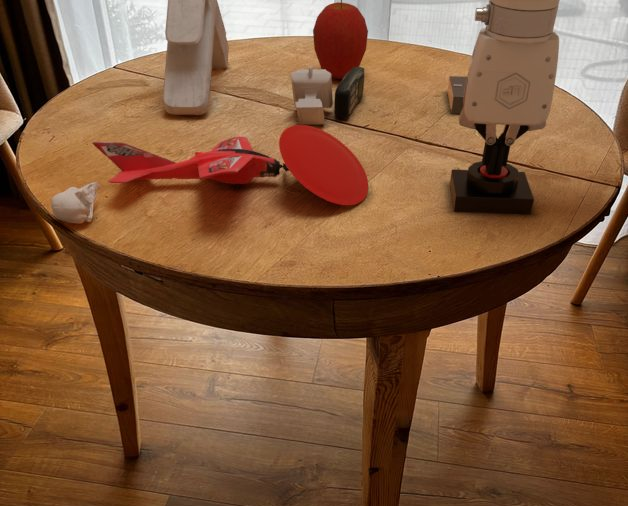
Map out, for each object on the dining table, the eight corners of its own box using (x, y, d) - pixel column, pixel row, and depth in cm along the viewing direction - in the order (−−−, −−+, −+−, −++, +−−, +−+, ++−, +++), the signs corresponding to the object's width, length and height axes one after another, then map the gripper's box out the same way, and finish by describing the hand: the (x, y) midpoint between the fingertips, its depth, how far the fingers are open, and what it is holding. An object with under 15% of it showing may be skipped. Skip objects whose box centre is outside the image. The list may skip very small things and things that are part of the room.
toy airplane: (302, 210, 83) (304, 169, 81) (74, 205, 79) (70, 162, 77) (283, 168, 107) (284, 135, 105) (107, 162, 103) (104, 128, 101)
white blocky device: (290, 56, 108) (285, 96, 105) (331, 56, 108) (328, 96, 104) (296, 97, 117) (291, 136, 113) (334, 98, 116) (331, 136, 112)
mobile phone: (350, 92, 108) (368, 60, 119) (332, 90, 109) (352, 59, 120) (349, 121, 112) (367, 88, 122) (332, 120, 112) (351, 87, 123)
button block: (521, 186, 94) (527, 159, 91) (530, 214, 88) (537, 186, 85) (449, 183, 95) (453, 156, 92) (453, 211, 89) (457, 183, 86)
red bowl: (381, 172, 96) (358, 199, 100) (304, 108, 94) (284, 139, 98) (350, 220, 86) (326, 248, 90) (263, 150, 84) (243, 182, 89)
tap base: (513, 93, 121) (517, 75, 119) (523, 117, 113) (527, 98, 111) (447, 91, 122) (449, 74, 120) (451, 115, 114) (453, 96, 112)
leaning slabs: (186, 158, 130) (153, 95, 107) (195, 42, 134) (165, -42, 111) (225, 159, 129) (201, 96, 107) (233, 43, 133) (211, -42, 111)
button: (503, 176, 91) (506, 164, 90) (507, 189, 88) (509, 176, 87) (476, 175, 91) (478, 163, 90) (479, 188, 88) (481, 175, 87)
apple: (303, 73, 130) (302, -6, 121) (346, 64, 134) (349, -13, 125) (331, 90, 123) (332, 7, 114) (376, 80, 127) (381, -1, 118)
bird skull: (118, 192, 89) (107, 168, 86) (87, 234, 85) (74, 210, 82) (83, 186, 91) (71, 161, 88) (51, 226, 87) (37, 202, 84)
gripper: (457, 27, 74) (437, 180, 86) (595, 31, 73) (555, 185, 85) (452, 10, 80) (434, 156, 92) (580, 13, 79) (545, 160, 91)
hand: (492, 169), depth 89 cm, fingers closed
